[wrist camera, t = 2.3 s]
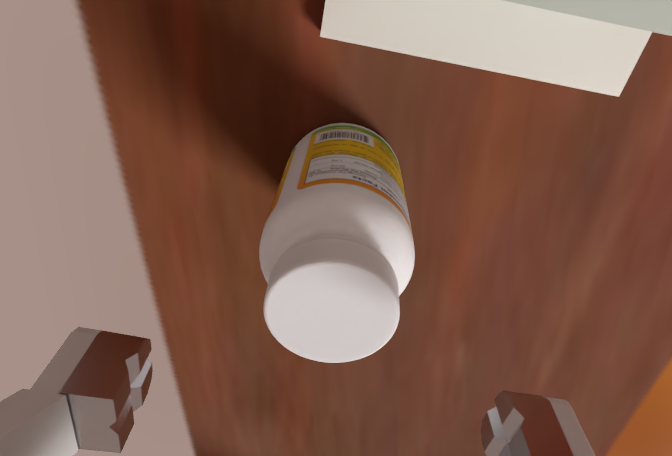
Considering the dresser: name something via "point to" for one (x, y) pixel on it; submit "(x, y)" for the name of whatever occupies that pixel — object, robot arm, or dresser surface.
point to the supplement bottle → (337, 246)
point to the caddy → (511, 35)
